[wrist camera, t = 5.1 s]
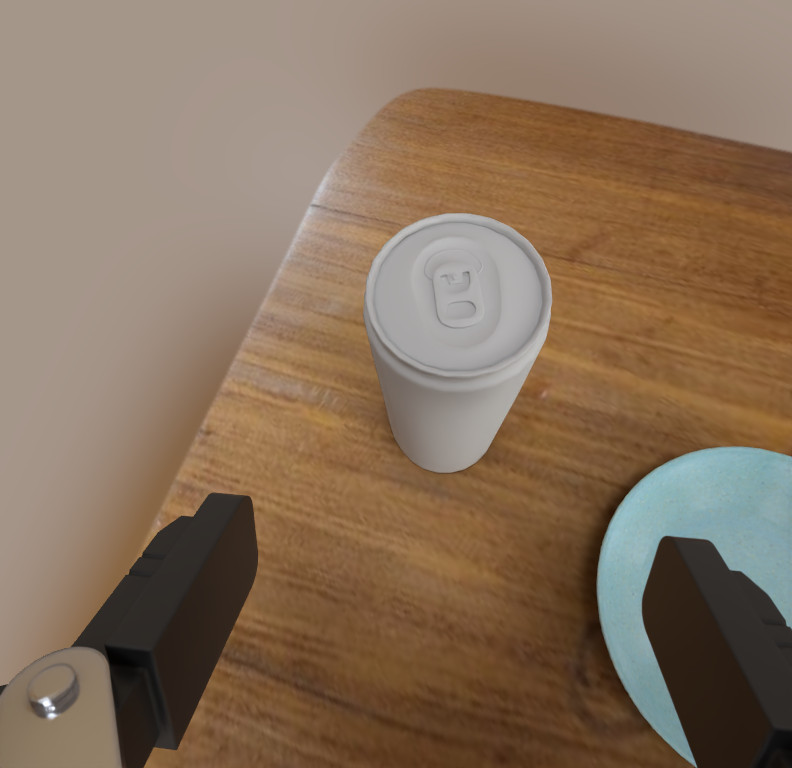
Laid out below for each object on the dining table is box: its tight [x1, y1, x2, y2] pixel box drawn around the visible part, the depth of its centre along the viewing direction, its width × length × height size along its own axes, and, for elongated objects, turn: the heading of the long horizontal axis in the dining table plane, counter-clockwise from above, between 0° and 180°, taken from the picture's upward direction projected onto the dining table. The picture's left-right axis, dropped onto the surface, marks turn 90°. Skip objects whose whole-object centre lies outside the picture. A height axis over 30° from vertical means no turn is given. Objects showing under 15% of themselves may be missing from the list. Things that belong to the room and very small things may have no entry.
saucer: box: [596, 447, 792, 768], centre depth 20 cm, size 12×12×2 cm
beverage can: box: [363, 213, 552, 473], centre depth 18 cm, size 5×5×12 cm
